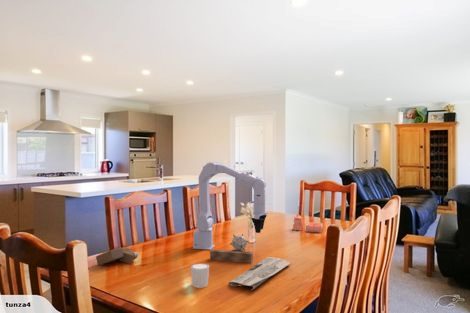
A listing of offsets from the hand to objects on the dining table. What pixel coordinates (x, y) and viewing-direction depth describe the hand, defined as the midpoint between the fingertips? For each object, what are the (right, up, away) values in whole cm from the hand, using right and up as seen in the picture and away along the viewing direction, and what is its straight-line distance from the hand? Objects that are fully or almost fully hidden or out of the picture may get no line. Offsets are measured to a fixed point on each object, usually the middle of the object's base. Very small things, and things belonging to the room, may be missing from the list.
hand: (259, 230), depth 169 cm
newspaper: (-1, -11, -32) cm, 34 cm away
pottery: (+33, -10, +45) cm, 57 cm away
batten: (-14, -10, -14) cm, 22 cm away
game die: (-10, -10, +2) cm, 14 cm away
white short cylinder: (-25, -11, -42) cm, 50 cm away
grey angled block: (-63, -11, -16) cm, 66 cm away
